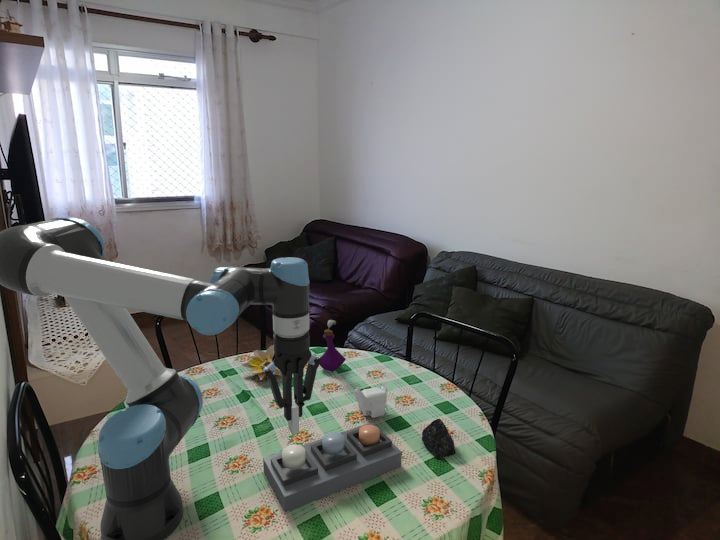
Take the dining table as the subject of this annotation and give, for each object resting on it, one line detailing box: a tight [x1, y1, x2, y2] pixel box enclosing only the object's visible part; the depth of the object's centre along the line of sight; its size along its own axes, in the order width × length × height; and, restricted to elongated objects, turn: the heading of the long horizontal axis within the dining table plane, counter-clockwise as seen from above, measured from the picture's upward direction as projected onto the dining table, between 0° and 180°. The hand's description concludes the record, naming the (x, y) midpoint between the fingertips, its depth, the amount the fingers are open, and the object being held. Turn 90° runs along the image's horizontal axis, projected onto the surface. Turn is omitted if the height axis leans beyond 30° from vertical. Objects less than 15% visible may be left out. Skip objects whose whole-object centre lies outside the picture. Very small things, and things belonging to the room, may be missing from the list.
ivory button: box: [281, 444, 306, 469], centre depth 100 cm, size 5×5×2 cm
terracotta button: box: [359, 424, 381, 446], centre depth 110 cm, size 5×5×2 cm
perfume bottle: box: [319, 319, 347, 373], centre depth 155 cm, size 8×8×18 cm
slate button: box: [321, 431, 344, 455], centre depth 105 cm, size 5×5×2 cm
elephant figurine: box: [353, 381, 390, 418], centre depth 129 cm, size 10×12×9 cm
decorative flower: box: [240, 344, 282, 381], centre depth 152 cm, size 15×11×10 cm
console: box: [262, 422, 403, 514], centre depth 106 cm, size 30×14×6 cm, turn 120°
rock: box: [421, 418, 457, 461], centre depth 115 cm, size 7×10×6 cm
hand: (293, 430), depth 99 cm, fingers closed
